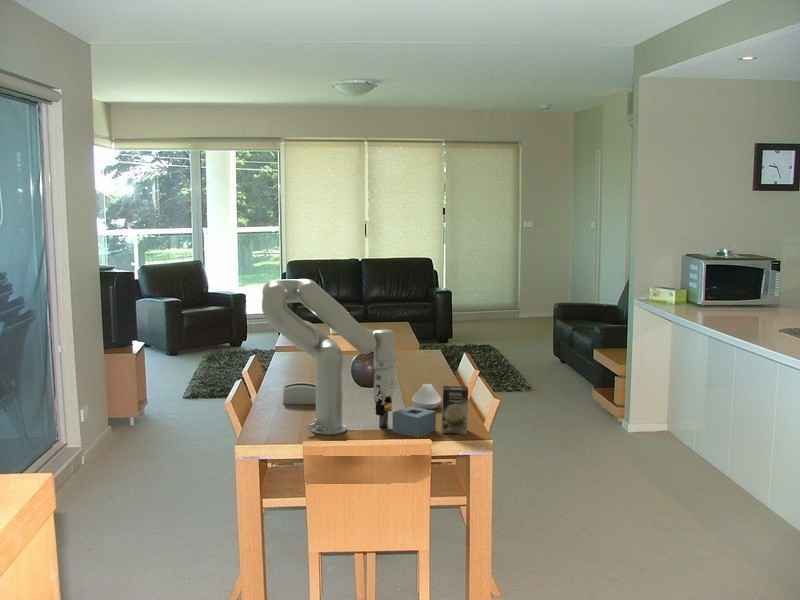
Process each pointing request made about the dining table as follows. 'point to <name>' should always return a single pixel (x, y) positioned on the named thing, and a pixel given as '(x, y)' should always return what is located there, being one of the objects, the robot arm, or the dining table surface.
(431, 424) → the hitch block
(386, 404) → the pin
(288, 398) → the grey slotted block
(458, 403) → the coffee box
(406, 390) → the dining table surface
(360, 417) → the dining table surface
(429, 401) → the spoon rest
